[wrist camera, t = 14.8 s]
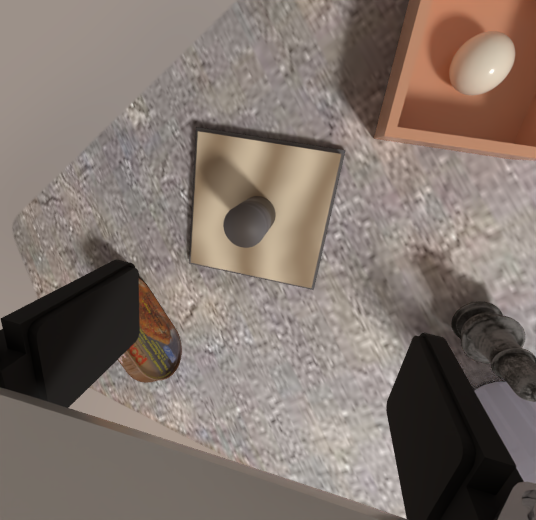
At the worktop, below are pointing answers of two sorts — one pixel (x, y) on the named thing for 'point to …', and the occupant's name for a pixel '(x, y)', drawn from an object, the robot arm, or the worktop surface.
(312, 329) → the worktop surface
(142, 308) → the tin
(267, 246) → the lid
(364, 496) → the worktop surface
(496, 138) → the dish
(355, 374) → the worktop surface
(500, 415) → the soap bottle
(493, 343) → the salt shaker
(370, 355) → the worktop surface
